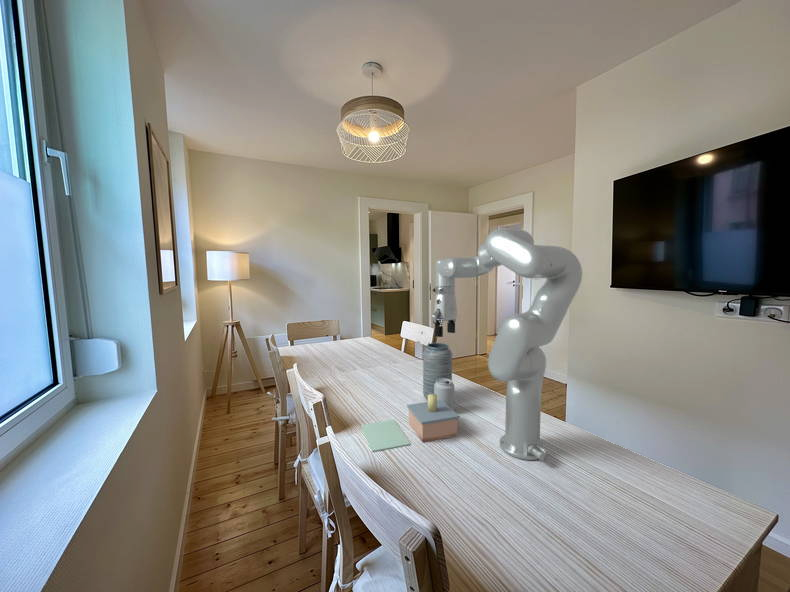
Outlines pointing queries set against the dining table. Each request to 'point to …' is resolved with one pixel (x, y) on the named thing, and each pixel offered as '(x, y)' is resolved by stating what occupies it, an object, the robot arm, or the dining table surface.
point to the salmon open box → (433, 429)
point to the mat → (384, 435)
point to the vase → (436, 366)
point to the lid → (432, 411)
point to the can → (445, 391)
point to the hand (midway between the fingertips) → (445, 334)
